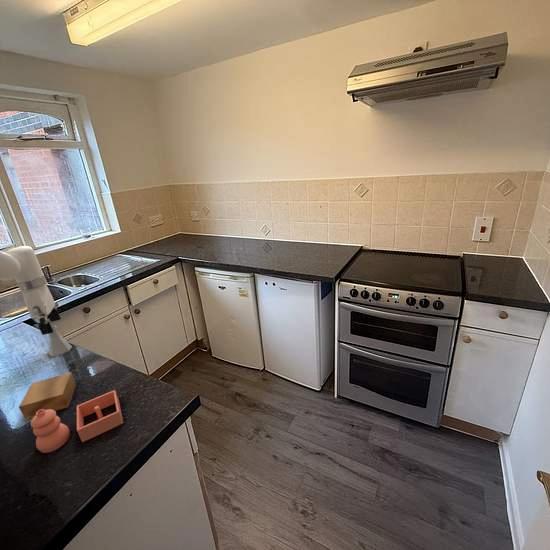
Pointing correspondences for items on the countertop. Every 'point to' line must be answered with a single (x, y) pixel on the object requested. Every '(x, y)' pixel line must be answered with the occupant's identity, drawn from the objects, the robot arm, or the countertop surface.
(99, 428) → the pottery
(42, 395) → the oak block
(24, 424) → the countertop surface
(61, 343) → the flask
